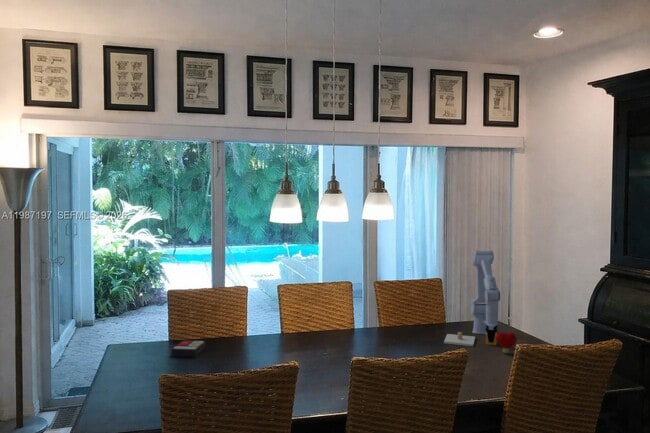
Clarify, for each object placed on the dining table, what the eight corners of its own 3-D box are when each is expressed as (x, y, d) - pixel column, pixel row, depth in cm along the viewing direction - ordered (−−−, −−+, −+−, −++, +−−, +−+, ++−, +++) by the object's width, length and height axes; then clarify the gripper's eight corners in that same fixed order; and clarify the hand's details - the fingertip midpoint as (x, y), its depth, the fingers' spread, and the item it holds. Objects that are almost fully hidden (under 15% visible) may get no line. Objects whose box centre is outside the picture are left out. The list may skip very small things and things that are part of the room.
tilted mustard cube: (486, 341, 267) (486, 331, 267) (496, 342, 266) (496, 332, 266) (485, 344, 263) (485, 334, 262) (496, 345, 261) (496, 335, 261)
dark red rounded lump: (514, 351, 252) (514, 330, 251) (518, 356, 245) (518, 334, 244) (493, 350, 253) (494, 330, 252) (497, 355, 246) (497, 334, 245)
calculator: (205, 340, 254) (195, 348, 239) (205, 349, 254) (195, 357, 239) (183, 339, 255) (171, 347, 240) (182, 348, 255) (171, 357, 240)
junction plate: (447, 335, 277) (447, 327, 277) (475, 338, 273) (475, 330, 272) (444, 343, 264) (444, 335, 264) (473, 346, 259) (473, 337, 259)
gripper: (484, 309, 272) (483, 335, 272) (482, 316, 258) (482, 343, 259) (498, 310, 269) (497, 337, 270) (498, 317, 256) (497, 345, 256)
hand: (491, 340), depth 264 cm, fingers closed on tilted mustard cube, 5 cm apart
